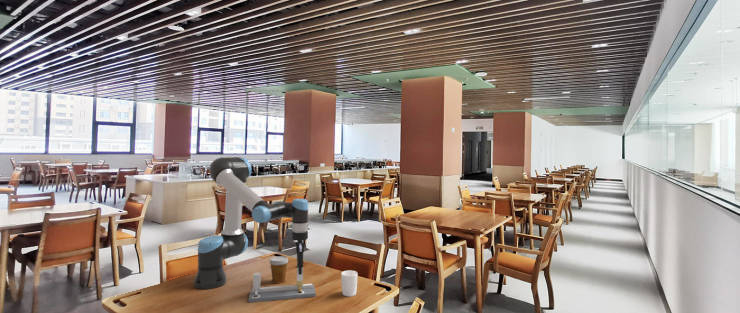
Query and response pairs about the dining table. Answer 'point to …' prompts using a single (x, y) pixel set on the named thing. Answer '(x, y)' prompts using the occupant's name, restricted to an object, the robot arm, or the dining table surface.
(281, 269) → the disposable coffee cup
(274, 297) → the gauge plate
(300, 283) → the gold pointer slider
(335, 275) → the dining table surface
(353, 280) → the white cup
